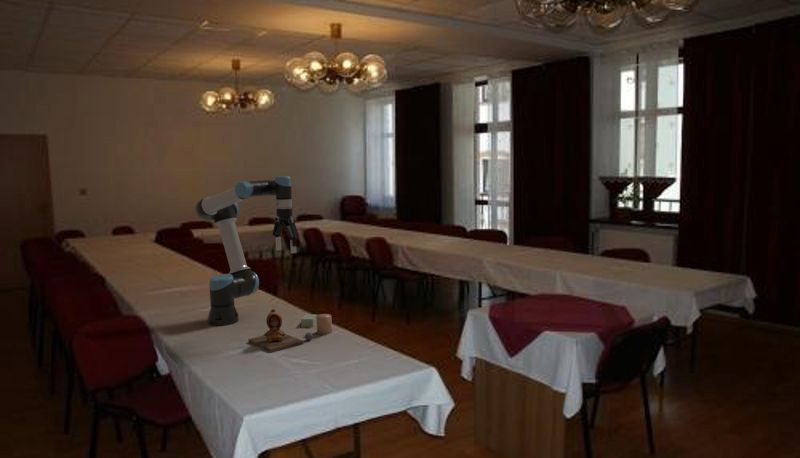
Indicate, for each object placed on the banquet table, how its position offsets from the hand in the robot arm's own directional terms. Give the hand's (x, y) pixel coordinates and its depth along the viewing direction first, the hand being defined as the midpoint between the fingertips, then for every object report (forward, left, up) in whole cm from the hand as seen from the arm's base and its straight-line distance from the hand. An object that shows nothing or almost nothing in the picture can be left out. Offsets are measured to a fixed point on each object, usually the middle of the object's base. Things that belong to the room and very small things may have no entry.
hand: (286, 251), depth 286 cm
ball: (+28, -7, -37) cm, 47 cm away
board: (+21, -20, -37) cm, 47 cm away
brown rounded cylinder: (+23, +5, -37) cm, 44 cm away
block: (+6, +8, -37) cm, 38 cm away
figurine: (+20, -20, -35) cm, 45 cm away
